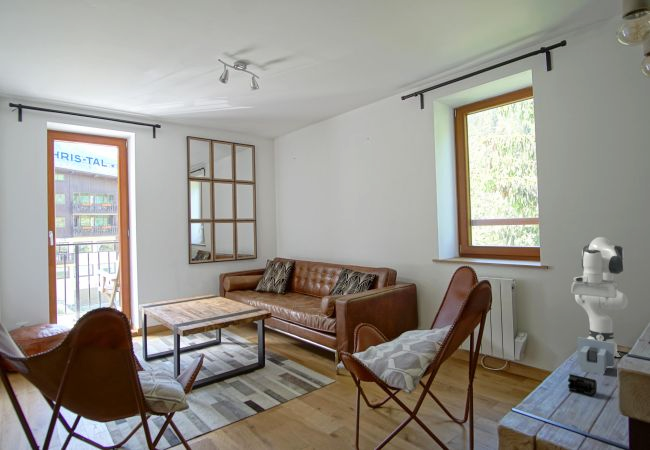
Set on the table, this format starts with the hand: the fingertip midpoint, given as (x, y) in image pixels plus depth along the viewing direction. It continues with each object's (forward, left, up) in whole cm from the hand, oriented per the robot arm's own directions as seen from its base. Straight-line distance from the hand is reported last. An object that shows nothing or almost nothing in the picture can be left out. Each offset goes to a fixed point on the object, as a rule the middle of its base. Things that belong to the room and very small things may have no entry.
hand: (593, 304), depth 199 cm
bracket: (+6, 0, -29) cm, 30 cm away
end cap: (+45, 0, -34) cm, 57 cm away
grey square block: (+4, 0, -34) cm, 34 cm away
